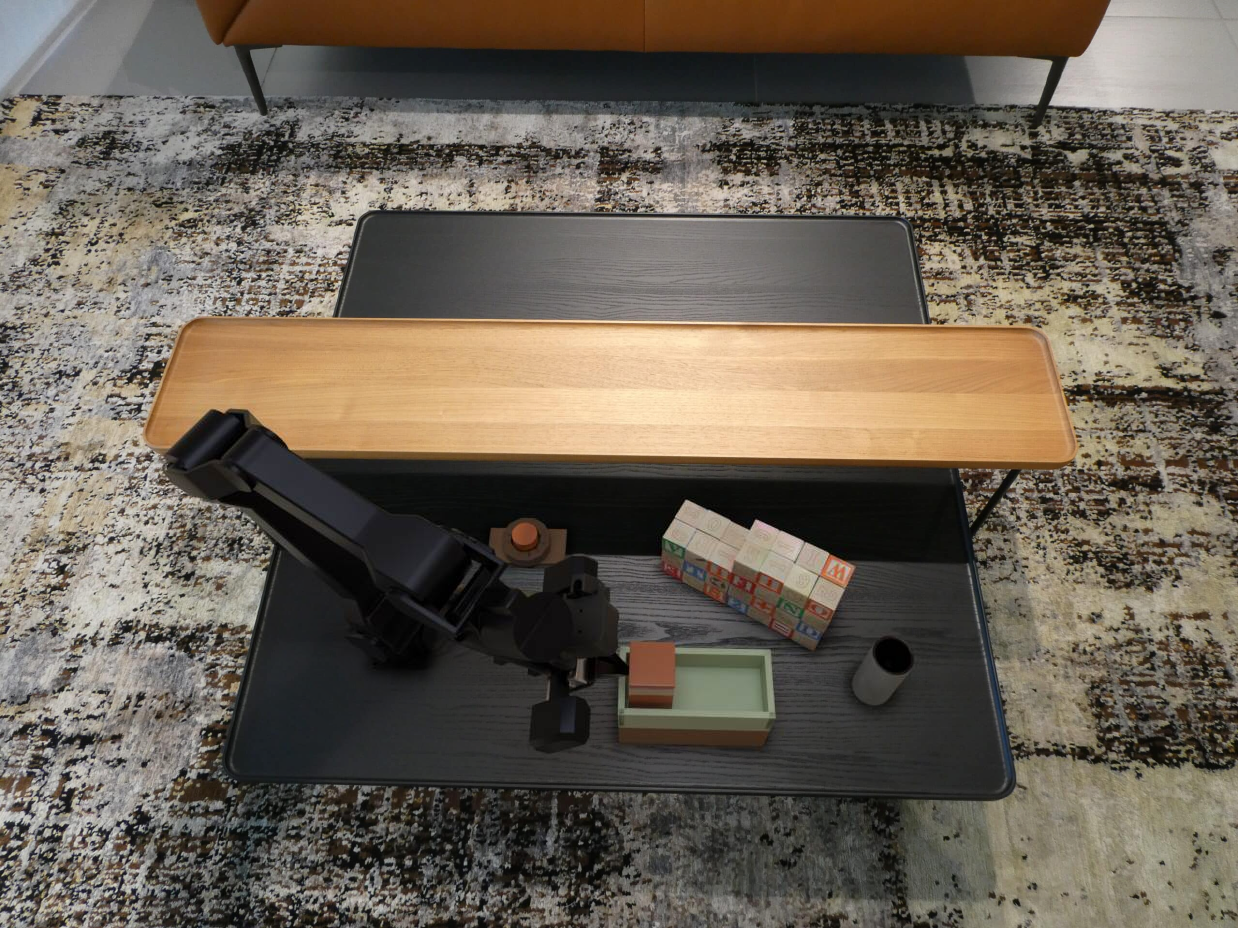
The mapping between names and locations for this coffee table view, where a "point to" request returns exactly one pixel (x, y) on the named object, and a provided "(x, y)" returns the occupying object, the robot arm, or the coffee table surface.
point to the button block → (544, 553)
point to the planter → (883, 670)
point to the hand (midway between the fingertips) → (626, 672)
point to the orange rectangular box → (651, 675)
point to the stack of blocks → (757, 571)
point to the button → (525, 537)
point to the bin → (706, 700)
